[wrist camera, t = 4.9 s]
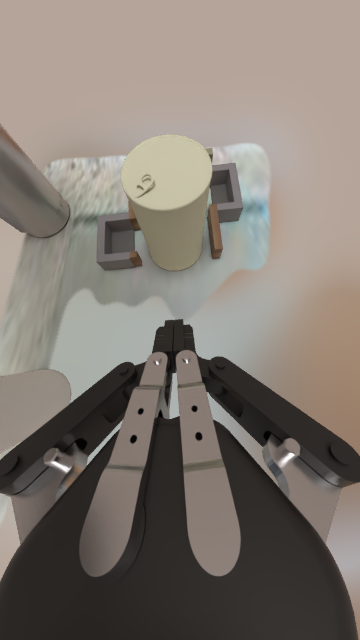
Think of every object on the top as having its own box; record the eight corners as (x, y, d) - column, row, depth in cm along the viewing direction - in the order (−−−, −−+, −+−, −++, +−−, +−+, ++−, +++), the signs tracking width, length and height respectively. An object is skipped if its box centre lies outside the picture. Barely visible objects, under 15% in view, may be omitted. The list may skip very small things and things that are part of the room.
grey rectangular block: (138, 247, 26) (98, 167, 15) (176, 214, 27) (167, 112, 15) (174, 281, 25) (162, 223, 13) (213, 245, 26) (234, 160, 14)
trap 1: (214, 222, 26) (217, 210, 24) (209, 181, 28) (211, 165, 26) (237, 220, 26) (243, 207, 24) (231, 178, 28) (235, 162, 25)
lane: (134, 266, 26) (125, 251, 22) (133, 184, 29) (124, 159, 25) (219, 258, 25) (225, 241, 21) (208, 175, 28) (212, 148, 24)
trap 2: (105, 270, 26) (96, 262, 24) (106, 227, 27) (98, 216, 25) (134, 267, 26) (129, 258, 23) (134, 224, 27) (128, 212, 25)
